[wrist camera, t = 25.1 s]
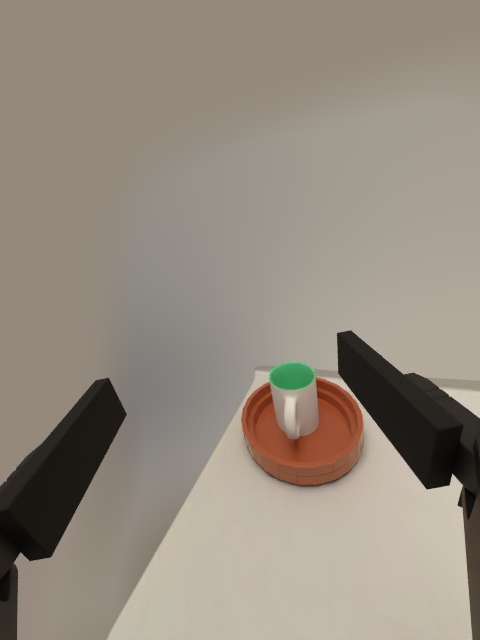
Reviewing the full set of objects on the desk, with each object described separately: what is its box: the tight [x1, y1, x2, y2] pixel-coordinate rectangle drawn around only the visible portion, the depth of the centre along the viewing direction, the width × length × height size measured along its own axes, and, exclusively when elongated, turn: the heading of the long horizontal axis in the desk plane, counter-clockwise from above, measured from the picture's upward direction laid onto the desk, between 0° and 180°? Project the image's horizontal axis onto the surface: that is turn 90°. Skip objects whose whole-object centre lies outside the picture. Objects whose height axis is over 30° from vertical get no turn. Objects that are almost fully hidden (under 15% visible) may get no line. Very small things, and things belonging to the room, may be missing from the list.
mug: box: [269, 362, 319, 439], centre depth 41 cm, size 12×8×10 cm
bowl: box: [241, 377, 363, 485], centre depth 43 cm, size 21×21×4 cm
